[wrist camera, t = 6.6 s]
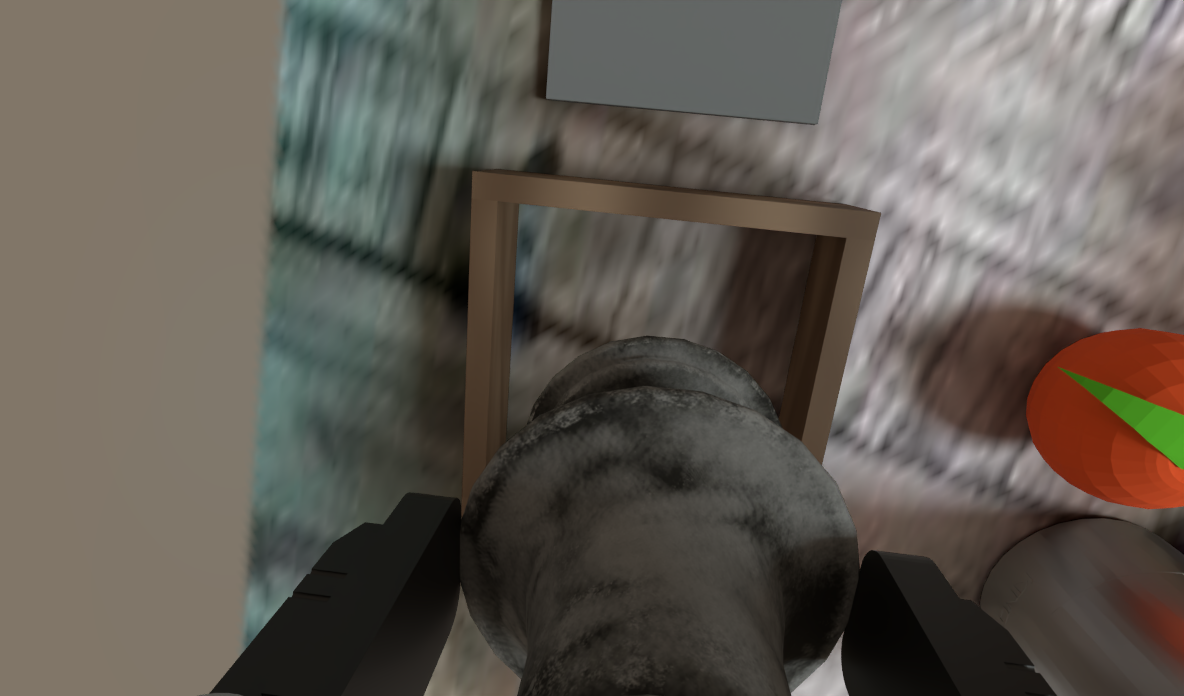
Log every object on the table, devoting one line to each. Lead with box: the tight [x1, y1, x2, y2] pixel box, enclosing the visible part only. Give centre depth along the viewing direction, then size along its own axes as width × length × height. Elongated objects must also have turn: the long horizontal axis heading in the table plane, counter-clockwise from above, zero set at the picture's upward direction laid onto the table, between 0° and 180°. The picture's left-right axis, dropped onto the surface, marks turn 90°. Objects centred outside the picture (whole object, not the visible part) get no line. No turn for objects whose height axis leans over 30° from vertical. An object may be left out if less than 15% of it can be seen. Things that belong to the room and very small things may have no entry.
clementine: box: [1026, 328, 1184, 509], centre depth 24 cm, size 8×7×7 cm
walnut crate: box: [461, 169, 881, 517], centre depth 27 cm, size 15×15×4 cm
